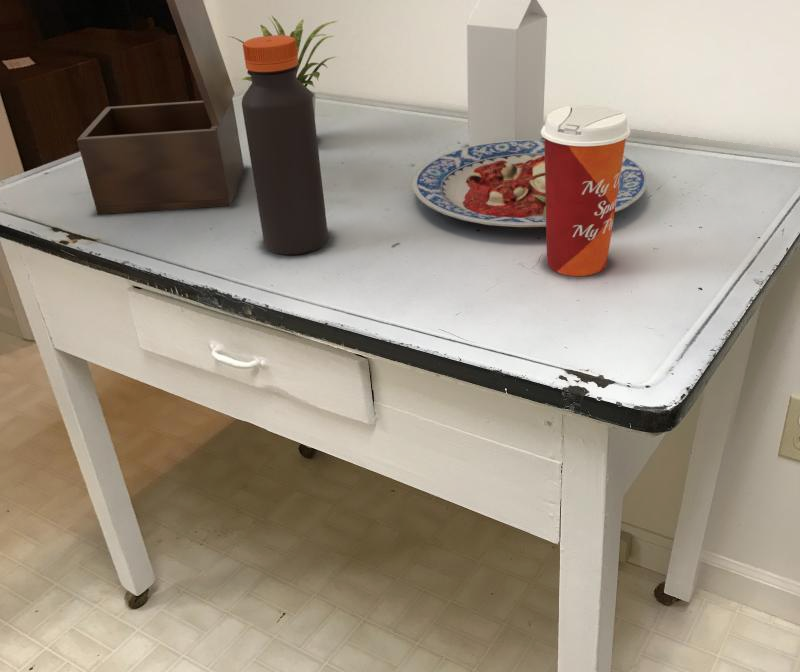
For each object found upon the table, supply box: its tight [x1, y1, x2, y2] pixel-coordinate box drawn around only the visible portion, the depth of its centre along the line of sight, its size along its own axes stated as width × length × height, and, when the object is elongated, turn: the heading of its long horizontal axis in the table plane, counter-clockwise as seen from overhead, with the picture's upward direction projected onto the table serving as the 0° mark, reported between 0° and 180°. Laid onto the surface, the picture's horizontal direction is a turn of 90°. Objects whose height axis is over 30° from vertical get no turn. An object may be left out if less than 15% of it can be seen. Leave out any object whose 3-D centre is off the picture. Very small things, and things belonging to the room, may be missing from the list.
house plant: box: [227, 15, 338, 117], centre depth 112 cm, size 14×14×16 cm
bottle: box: [241, 34, 329, 256], centre depth 84 cm, size 7×7×20 cm
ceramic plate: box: [412, 139, 648, 228], centre depth 96 cm, size 26×26×3 cm
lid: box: [166, 0, 236, 127], centre depth 94 cm, size 16×13×5 cm
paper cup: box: [541, 104, 631, 277], centre depth 78 cm, size 8×8×14 cm
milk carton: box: [466, 0, 548, 147], centre depth 106 cm, size 7×7×19 cm
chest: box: [76, 98, 245, 215], centre depth 102 cm, size 16×13×9 cm
